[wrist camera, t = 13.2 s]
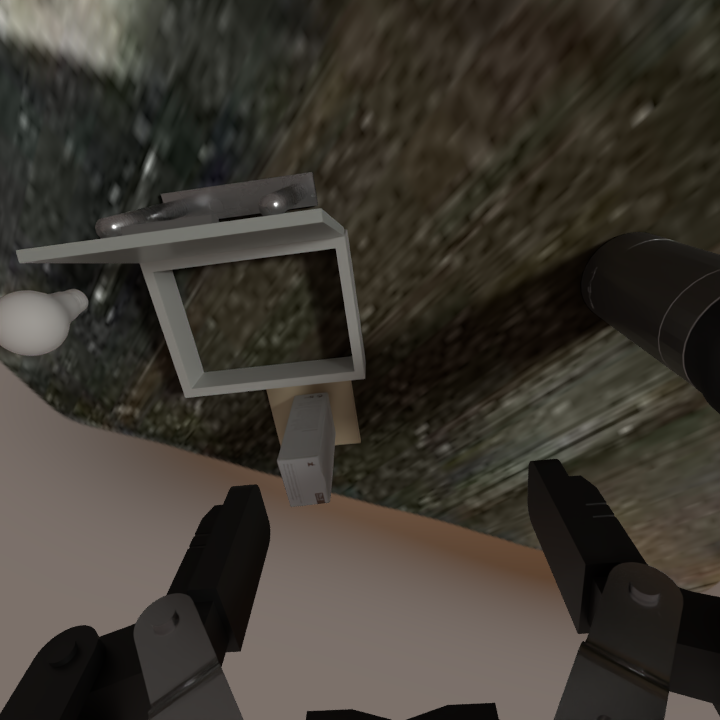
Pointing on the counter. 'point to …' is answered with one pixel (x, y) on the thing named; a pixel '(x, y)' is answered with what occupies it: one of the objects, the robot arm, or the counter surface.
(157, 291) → the case
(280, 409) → the mat
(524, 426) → the counter surface
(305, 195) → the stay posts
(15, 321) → the lightbulb
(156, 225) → the lid
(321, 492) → the skincare box
